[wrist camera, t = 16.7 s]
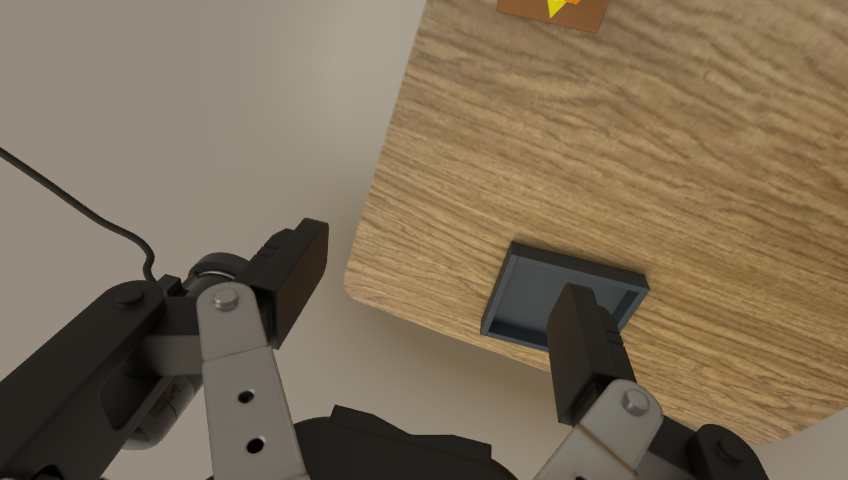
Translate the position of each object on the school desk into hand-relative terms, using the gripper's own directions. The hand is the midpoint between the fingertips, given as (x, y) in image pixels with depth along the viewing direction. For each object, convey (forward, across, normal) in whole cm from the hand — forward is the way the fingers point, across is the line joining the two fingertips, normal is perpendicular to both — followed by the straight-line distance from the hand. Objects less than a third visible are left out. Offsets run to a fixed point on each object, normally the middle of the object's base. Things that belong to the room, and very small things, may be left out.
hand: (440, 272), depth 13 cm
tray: (+27, -15, +21) cm, 37 cm away
